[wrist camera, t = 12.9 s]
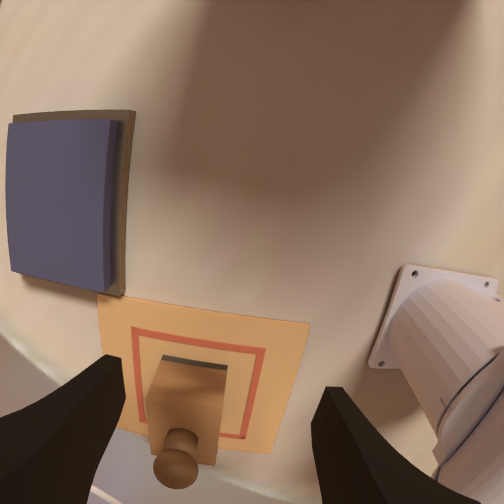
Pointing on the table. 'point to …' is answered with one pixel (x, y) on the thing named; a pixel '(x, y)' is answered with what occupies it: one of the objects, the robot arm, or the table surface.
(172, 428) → the stamp
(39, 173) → the ink pad
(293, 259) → the table surface
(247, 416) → the card board
